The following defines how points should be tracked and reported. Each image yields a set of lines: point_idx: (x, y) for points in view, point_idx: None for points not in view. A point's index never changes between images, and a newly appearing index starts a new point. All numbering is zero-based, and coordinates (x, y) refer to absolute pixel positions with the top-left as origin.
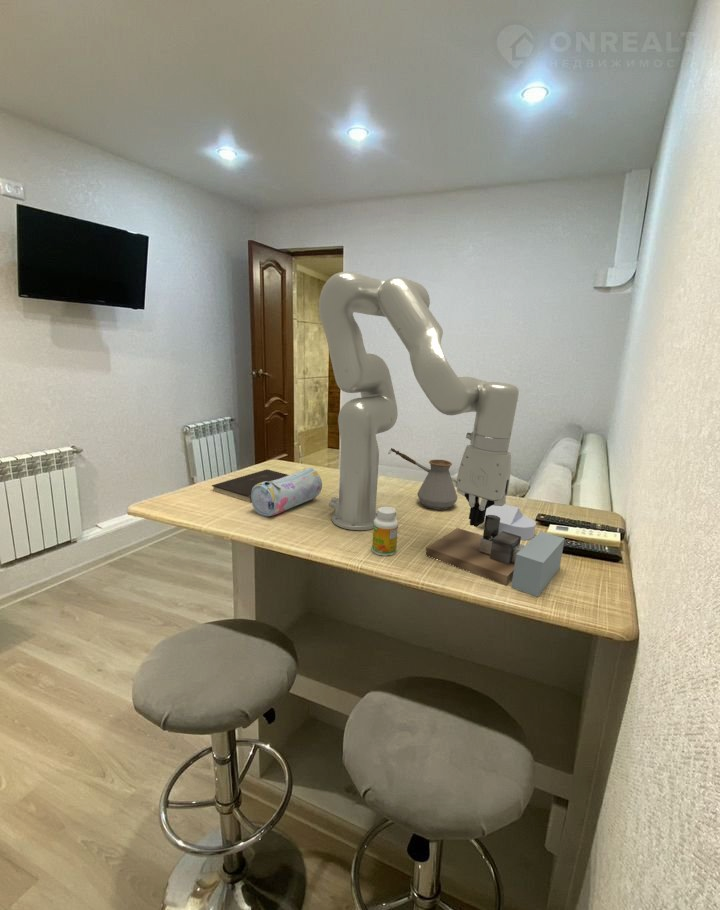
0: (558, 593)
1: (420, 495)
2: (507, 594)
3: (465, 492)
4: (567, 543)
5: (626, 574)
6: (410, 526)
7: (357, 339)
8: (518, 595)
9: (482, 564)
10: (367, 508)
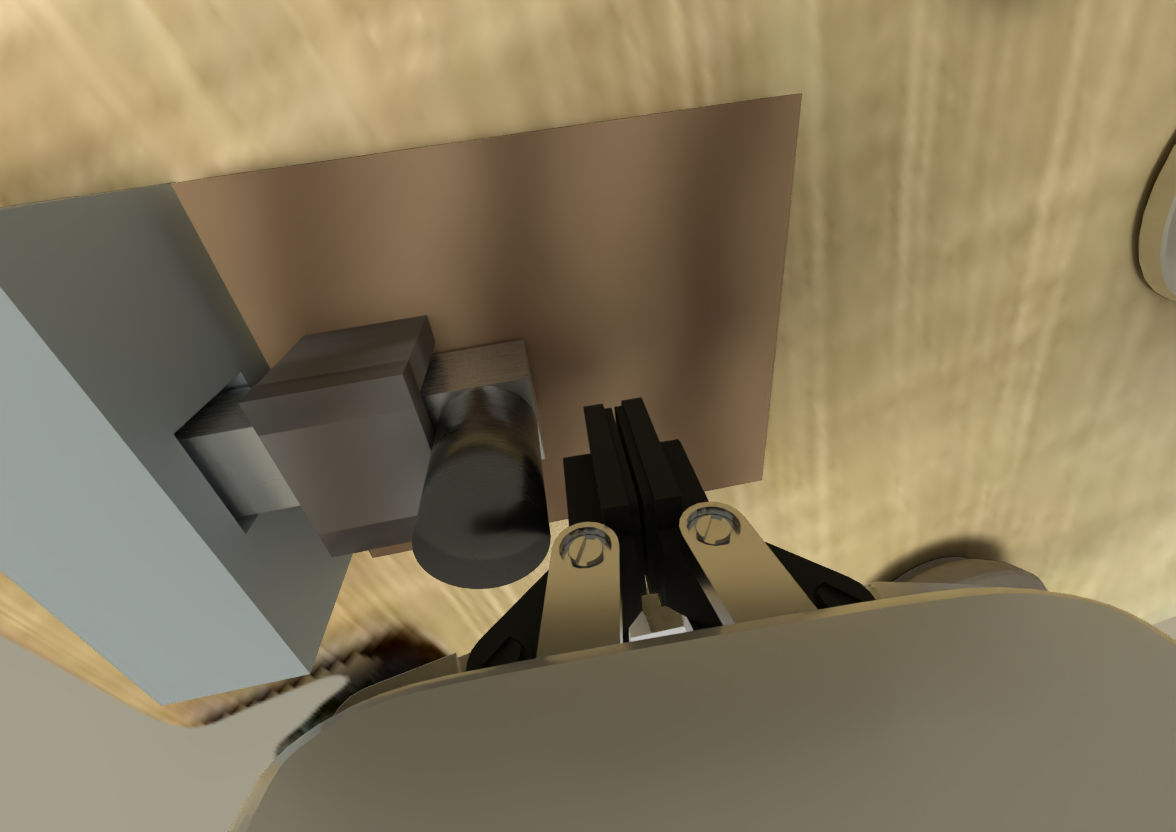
0: None
1: (1032, 580)
2: (96, 61)
3: (902, 599)
4: None
5: (105, 689)
6: (968, 356)
7: None
8: (60, 118)
9: (394, 199)
10: None
